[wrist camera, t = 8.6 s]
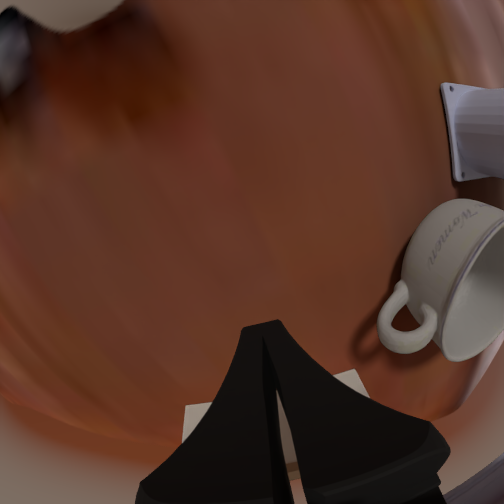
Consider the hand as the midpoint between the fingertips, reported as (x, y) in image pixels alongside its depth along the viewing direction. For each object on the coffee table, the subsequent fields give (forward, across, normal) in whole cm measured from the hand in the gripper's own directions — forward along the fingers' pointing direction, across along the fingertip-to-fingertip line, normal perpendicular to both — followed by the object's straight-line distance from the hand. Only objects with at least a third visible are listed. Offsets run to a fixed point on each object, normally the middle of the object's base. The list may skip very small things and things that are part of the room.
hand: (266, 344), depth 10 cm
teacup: (+10, -14, +4) cm, 17 cm away
